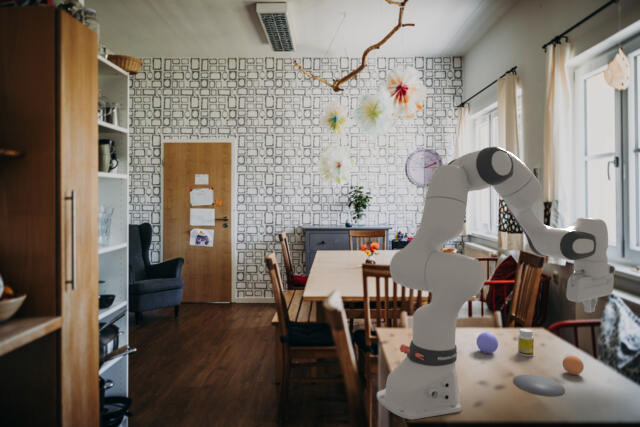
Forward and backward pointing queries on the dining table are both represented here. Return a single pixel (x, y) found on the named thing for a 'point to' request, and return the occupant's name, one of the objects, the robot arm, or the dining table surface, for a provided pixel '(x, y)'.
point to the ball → (573, 365)
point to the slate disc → (539, 385)
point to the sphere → (487, 342)
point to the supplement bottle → (525, 342)
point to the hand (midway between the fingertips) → (589, 311)
